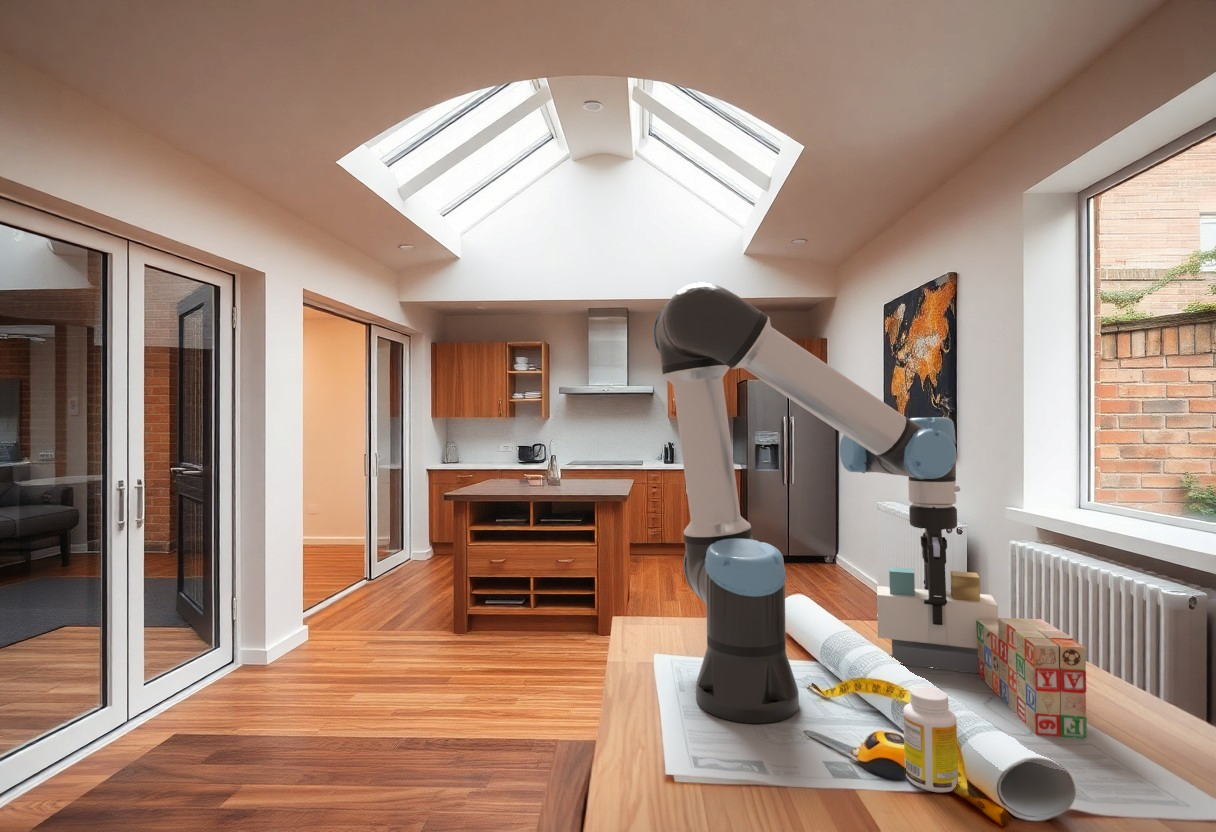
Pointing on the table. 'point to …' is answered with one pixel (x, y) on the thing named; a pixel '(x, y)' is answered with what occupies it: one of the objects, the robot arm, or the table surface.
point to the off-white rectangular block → (910, 617)
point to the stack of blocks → (1036, 674)
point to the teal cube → (902, 581)
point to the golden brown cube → (965, 586)
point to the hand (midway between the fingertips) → (935, 635)
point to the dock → (936, 656)
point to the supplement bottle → (930, 740)
